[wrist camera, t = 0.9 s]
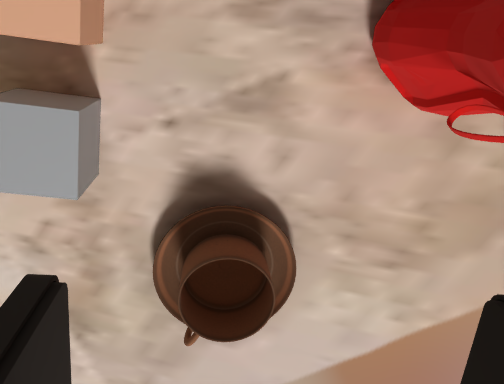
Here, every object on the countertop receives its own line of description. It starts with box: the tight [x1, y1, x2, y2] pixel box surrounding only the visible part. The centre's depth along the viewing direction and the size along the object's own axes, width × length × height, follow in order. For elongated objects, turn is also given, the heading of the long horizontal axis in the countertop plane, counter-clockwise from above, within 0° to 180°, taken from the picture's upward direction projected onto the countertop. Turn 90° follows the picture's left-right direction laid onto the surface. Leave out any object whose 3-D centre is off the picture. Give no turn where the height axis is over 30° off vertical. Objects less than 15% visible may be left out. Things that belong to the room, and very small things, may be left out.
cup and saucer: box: [153, 206, 296, 346], centre depth 37 cm, size 12×12×6 cm
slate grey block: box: [0, 88, 101, 200], centre depth 32 cm, size 6×6×6 cm
